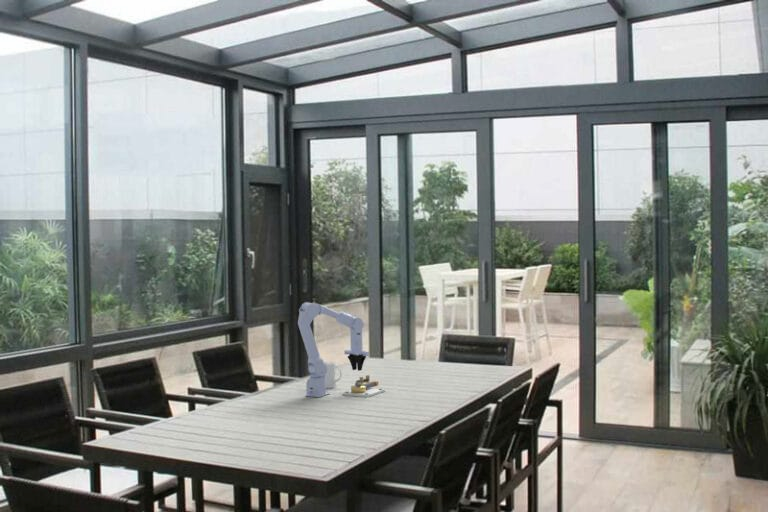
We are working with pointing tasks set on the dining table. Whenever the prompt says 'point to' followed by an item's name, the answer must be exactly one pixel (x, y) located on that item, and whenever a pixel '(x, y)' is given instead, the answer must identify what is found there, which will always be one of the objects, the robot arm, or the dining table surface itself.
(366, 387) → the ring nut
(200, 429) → the dining table surface
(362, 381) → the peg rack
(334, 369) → the mug
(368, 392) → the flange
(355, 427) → the dining table surface
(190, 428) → the dining table surface
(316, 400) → the dining table surface
